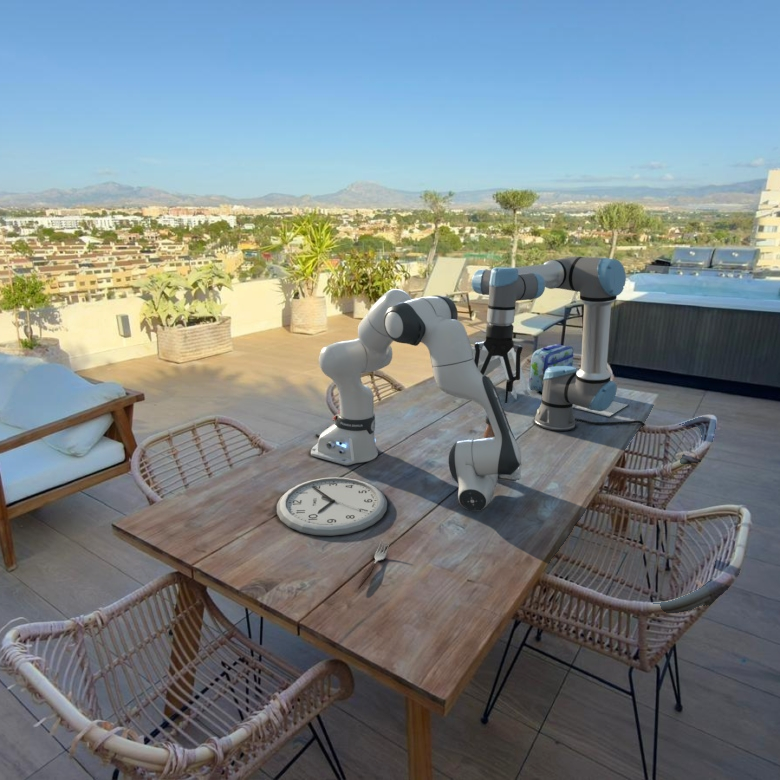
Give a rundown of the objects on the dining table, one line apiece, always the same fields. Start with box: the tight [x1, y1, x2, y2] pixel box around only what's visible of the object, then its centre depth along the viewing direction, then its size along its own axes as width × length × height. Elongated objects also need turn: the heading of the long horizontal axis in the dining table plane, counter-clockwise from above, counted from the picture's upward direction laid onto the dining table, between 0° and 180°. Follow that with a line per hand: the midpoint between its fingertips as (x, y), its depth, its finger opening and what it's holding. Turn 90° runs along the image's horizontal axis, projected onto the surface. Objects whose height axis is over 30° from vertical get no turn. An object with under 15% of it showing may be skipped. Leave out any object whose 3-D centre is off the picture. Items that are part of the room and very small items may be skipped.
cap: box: [485, 414, 491, 425], centre depth 156 cm, size 4×4×2 cm
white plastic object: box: [471, 345, 531, 400], centre depth 245 cm, size 37×45×31 cm
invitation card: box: [573, 400, 629, 418], centre depth 226 cm, size 21×1×15 cm
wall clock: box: [276, 476, 388, 537], centre depth 142 cm, size 30×2×30 cm
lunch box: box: [528, 344, 574, 393], centre depth 247 cm, size 26×11×21 cm, turn 134°
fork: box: [357, 541, 391, 589], centre depth 116 cm, size 3×16×2 cm, turn 160°
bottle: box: [483, 424, 495, 438], centre depth 159 cm, size 4×4×19 cm
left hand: (489, 455), depth 160 cm, fingers open, 8 cm apart
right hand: (494, 400), depth 155 cm, fingers open, 6 cm apart
